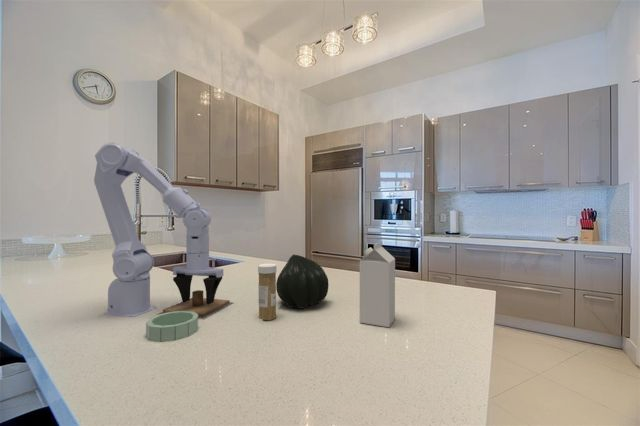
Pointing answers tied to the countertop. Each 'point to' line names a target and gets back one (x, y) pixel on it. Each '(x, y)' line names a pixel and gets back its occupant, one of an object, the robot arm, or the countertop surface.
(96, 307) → the countertop surface
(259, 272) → the sprinkles bottle
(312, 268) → the squash
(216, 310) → the mat
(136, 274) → the robot arm
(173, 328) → the bowl
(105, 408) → the countertop surface
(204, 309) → the lid
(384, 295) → the milk carton
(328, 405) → the countertop surface
